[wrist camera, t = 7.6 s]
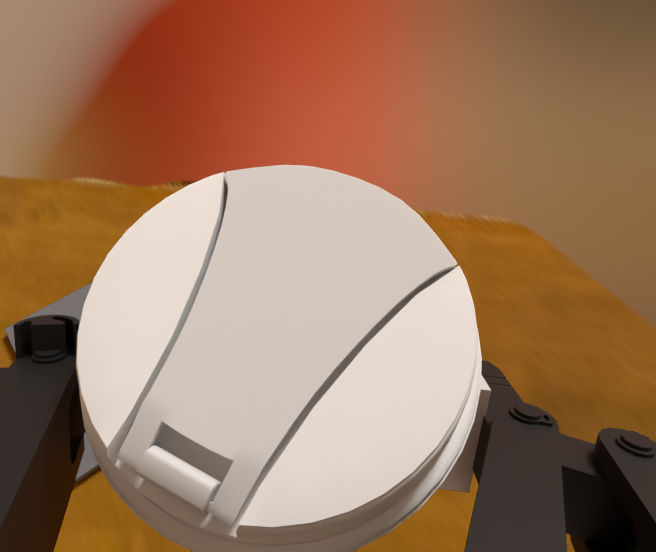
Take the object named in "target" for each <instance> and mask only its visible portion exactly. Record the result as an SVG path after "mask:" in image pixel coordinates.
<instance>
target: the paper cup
mask: <svg viewBox="0 0 656 552" xmlns="http://www.w3.org/2000/svg"><path fill="white" fill-rule="evenodd" d="M456 265H457V262H456V260H455V259H454V258H453V256H452V255H451V254H450V252H449V251H448V250H447V248H446V247H445V246H444V244H443V243H442V242H441V240H440V239H439V238H438V236H437V235H436V234H435V233H434V232H433V230H432V229H431V228H430V227H429V226H428V225H427V223H426V222H425V221H424V220H423V219H422V218H421V216H420V215H418V214H417V213H416V212H415V211H414V210H412V209H411V208H410V207H409V206H408V205H406V204H405V203H404V202H403V201H402V200H400V199H398V198H397V197H395V196H393V195H392V194H390V193H388V192H387V191H385V190H383V189H381V188H379V187H377V186H375V185H372V184H370V183H367V182H365V181H363V180H360V179H358V178H355V177H352V176H349V175H345V174H342V173H339V172H336V171H332V170H327V169H322V168H316V167H311V166H297V165H279V166H267V167H256V168H249V169H241V170H234V171H227V172H226V173H224V172H222V173H219V174H215V175H212V176H210V177H207V178H205V179H202V180H200V181H198V182H195V183H193V184H190V185H188V186H186V187H185V188H183V189H181V190H179V191H178V192H176V193H174V194H172V195H170V196H169V197H167V198H165V199H164V200H163V201H161V202H160V203H159V204H157V205H156V206H154V207H153V208H152V209H150V210H149V211H148V212H146V213H145V214H144V215H143V216H142V217H141V218H140V219H139V220H138V221H137V222H136V223H134V224H133V225H132V226H131V227H130V228H129V229H128V230H127V231H126V232H125V233H124V235H123V236H122V237H121V238H120V240H119V241H118V242H117V243H116V245H115V246H114V247H113V248H112V250H111V251H110V252H109V253H108V255H107V257H106V259H105V260H104V262H103V264H102V265H101V267H100V269H99V271H98V272H97V274H96V276H95V277H94V280H93V282H92V285H91V287H90V290H89V293H88V295H87V298H86V300H85V303H84V306H83V310H82V315H81V320H80V324H79V329H78V334H77V351H76V370H77V377H78V384H79V391H80V401H81V408H82V415H83V422H84V427H85V430H86V433H87V436H88V439H89V442H90V445H91V448H92V451H93V454H94V456H95V459H96V461H97V462H98V464H99V466H100V468H101V469H102V471H103V473H104V475H105V476H106V478H107V480H108V481H109V483H110V485H111V487H112V488H113V489H114V491H115V492H116V493H117V494H118V495H119V496H120V497H121V499H122V500H123V501H124V502H125V503H126V504H127V505H128V507H129V508H130V509H131V510H132V511H133V512H134V513H135V514H136V516H138V517H139V518H140V519H142V520H143V521H144V522H146V523H147V524H148V525H150V526H151V527H152V528H154V529H155V530H156V531H157V532H159V533H160V534H161V535H163V536H164V537H165V538H167V539H169V540H171V541H173V542H175V543H177V544H179V545H181V546H184V547H186V548H188V549H190V550H192V551H194V552H352V551H356V550H357V549H359V548H361V547H363V546H365V545H367V544H369V543H371V542H372V541H374V540H376V539H378V538H380V537H382V536H384V535H386V534H388V533H389V532H391V531H392V530H393V529H395V528H396V527H397V526H398V525H400V524H401V523H402V522H404V521H405V520H406V519H407V518H409V517H410V516H411V515H412V514H414V513H415V512H416V511H417V510H419V509H420V508H421V507H422V506H423V504H424V503H425V502H426V501H427V500H428V499H429V498H430V497H431V495H432V494H433V493H434V492H435V491H436V490H437V489H438V488H439V486H440V485H441V484H442V483H443V482H444V481H445V479H446V477H447V476H448V474H449V472H450V471H451V469H452V467H453V466H454V464H455V463H456V461H457V459H458V458H459V456H460V454H461V453H462V451H463V448H464V446H465V443H466V441H467V438H468V436H469V433H470V430H471V428H472V425H473V423H474V420H475V415H476V410H477V405H478V400H479V396H480V391H481V367H482V357H481V350H480V342H479V335H478V329H477V324H476V316H475V309H474V303H473V300H472V297H471V294H470V290H469V287H468V284H467V281H466V278H465V276H464V274H463V272H462V270H461V268H460V266H458V267H456Z"/></svg>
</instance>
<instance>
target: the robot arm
mask: <svg viewBox="0 0 656 552" xmlns="http://www.w3.org/2000/svg"><path fill="white" fill-rule="evenodd" d="M13 327H14V339H15V351H16V359H15V360H14V362H13V363H12V364H11V366H10V367H9V368H0V552H53V551H54V548H55V545H56V541H57V538H58V535H59V532H60V528H61V525H62V522H63V519H64V515H65V512H66V509H67V506H68V502H69V499H70V496H71V492H72V489H73V486H74V483H75V479H76V476H77V473H78V470H79V466H80V463H81V460H82V457H83V453H84V450H85V446H84V433H85V432H86V430H85V427H84V422H83V415H82V408H81V401H80V391H79V384H78V377H77V370H76V351H77V334H78V329H79V320H78V319H77V318H75V317H72V316H67V315H42V316H37V317H31V318H28V319H25V320H22V321H19V322H18V323H16V324H14V325H13ZM473 472H474V474H475V476H476V479H477V482H478V484H479V486H478V491H477V495H476V500H475V504H474V509H473V513H472V518H471V522H470V527H469V532H468V536H467V541H466V546H465V550H464V552H567V542H566V533H567V534H570V538H571V542H572V545H573V547H574V550H575V552H656V443H655V442H654V441H652V440H650V438H648V437H646V436H644V435H642V434H641V435H639V433H637V432H634V431H627V430H623V429H616V428H607V429H602V430H601V431H600V432H599V434H598V437H597V441H596V444H593V443H589V442H586V441H582V440H579V439H576V438H572V437H569V436H566V435H563V434H561V433H559V426H558V424H557V421H556V420H555V419H554V418H553V417H552V416H551V415H550V414H549V413H547V412H545V411H543V410H542V409H540V408H538V407H535V406H532V405H530V404H527V403H524V402H523V401H522V400H521V398H520V397H519V395H518V394H517V393H516V391H515V390H514V388H513V387H511V384H510V383H509V382H508V380H506V377H505V376H504V375H503V373H502V372H501V370H500V369H498V368H497V367H496V366H494V365H493V364H491V363H490V362H488V361H483V360H482V367H481V391H480V396H479V400H478V405H477V410H476V415H475V420H474V423H473V425H472V428H471V430H470V433H469V436H468V438H467V441H466V443H465V446H464V448H463V451H462V453H461V454H460V456H459V458H458V459H457V461H456V463H455V464H454V466H453V467H452V469H451V471H450V472H449V474H448V476H447V477H446V479H445V481H444V482H443V483H442V484H441V485H440V486H439V488H438V489H445V490H452V491H460V492H467V493H469V491H470V486H471V481H472V477H473Z"/></svg>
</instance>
